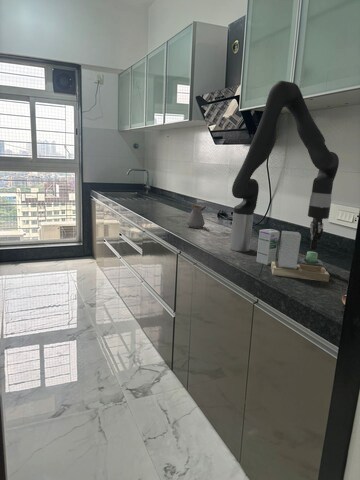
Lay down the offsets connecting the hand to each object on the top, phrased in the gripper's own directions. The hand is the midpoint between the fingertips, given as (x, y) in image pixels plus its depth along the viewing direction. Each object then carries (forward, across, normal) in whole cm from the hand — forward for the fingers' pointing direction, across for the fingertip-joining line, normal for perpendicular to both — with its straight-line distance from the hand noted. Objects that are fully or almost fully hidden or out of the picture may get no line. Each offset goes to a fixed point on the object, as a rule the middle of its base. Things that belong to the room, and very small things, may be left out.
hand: (313, 249), depth 137 cm
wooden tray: (+9, +11, -6) cm, 15 cm away
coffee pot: (+8, -68, -54) cm, 88 cm away
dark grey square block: (+9, 0, 0) cm, 9 cm away
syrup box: (+9, -1, -17) cm, 19 cm away
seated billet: (+8, +11, -10) cm, 17 cm away
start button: (+6, 0, 0) cm, 6 cm away
